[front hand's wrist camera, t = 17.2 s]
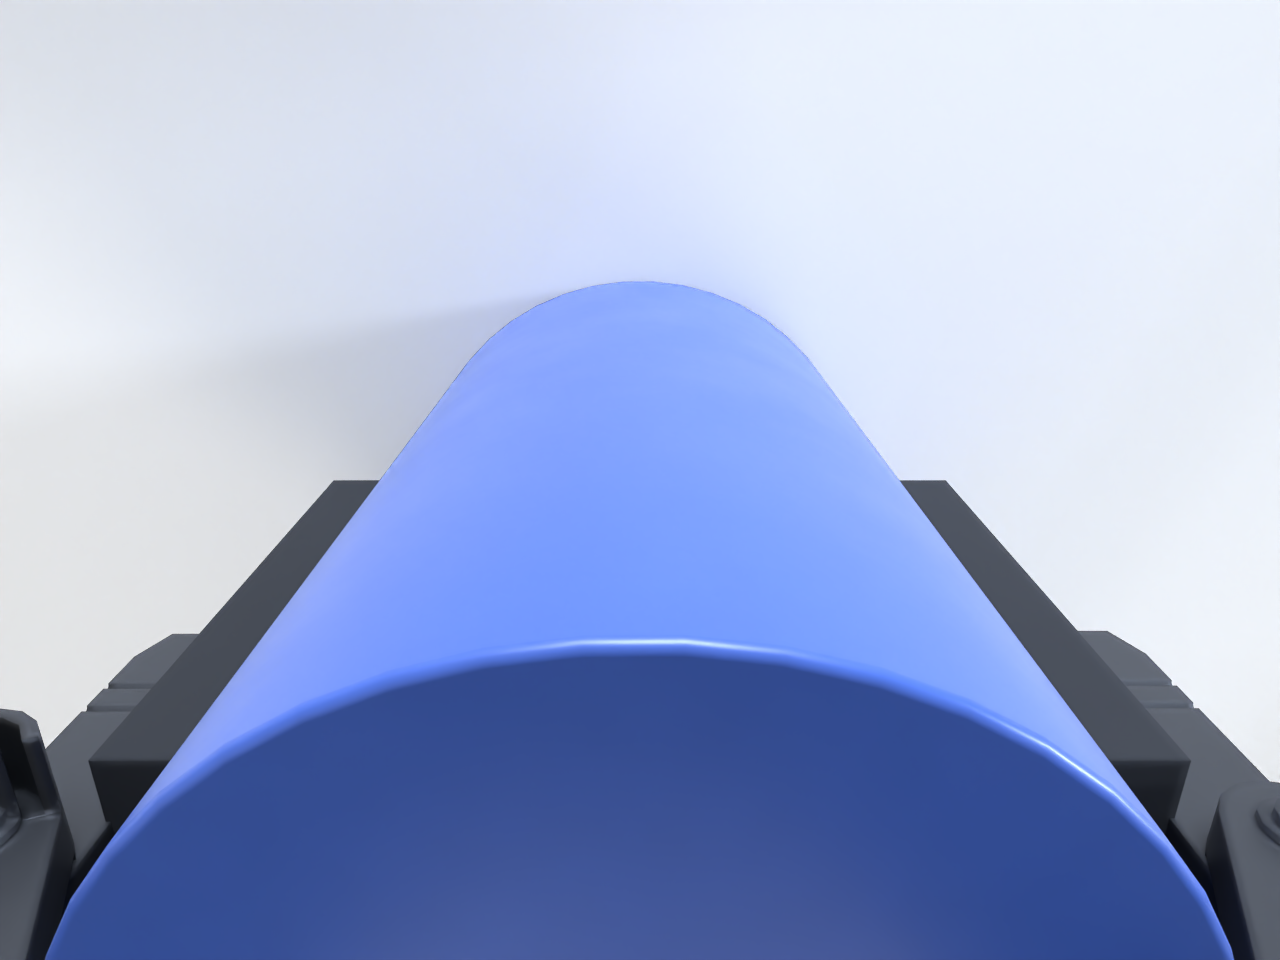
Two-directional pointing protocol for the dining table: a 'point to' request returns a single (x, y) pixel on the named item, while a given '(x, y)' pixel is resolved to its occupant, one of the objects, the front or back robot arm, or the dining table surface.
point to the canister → (639, 701)
